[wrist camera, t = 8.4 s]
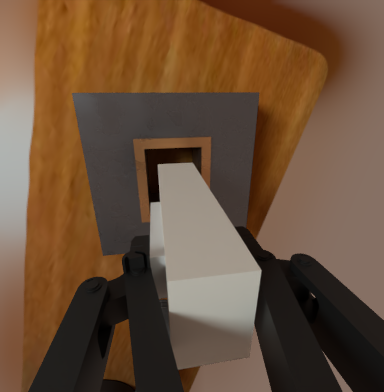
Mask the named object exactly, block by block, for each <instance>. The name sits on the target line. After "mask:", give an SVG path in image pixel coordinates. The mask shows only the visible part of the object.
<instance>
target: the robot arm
mask: <svg viewBox="0 0 384 392" xmlns="http://www.w3.org/2000/svg"><path fill="white" fill-rule="evenodd" d="M216 200H217V199H216ZM219 205H220V204H219ZM221 208H222V207H221ZM223 211H224V210H223ZM225 214H226V213H225ZM226 216H227V215H226ZM228 219H229V218H228ZM230 222H231V221H230ZM232 225H233V224H232ZM234 228H235V230H236V231H237V233H238V234H239V236H240V237H241V239H242V241H243V242H244V244H245V245H246V247H247V248H248V250H249V251H250V253H251V255H252V256H253V258H254V259H255V261H256V262H257V264H258V266H259V267H260V269H261V270H262V271H261V278H260V285H259V292H258V299H257V306H256V313H255V320H254V324H255V328H256V332H257V336H258V340H259V344H260V347H261V351H262V355H263V359H264V363H265V367H266V370H267V375H268V378H269V382H270V386H271V390H272V392H342V390H341V388H340V386H339V384H338V382H337V380H336V378H335V376H334V374H333V372H332V370H331V368H330V366H329V364H328V362H327V360H326V358H325V356H324V354H323V352H324V353H325V355H326V356H327V357H328V359H329V360H330V361H331V363H332V364H333V365H334V367H335V368H336V369H337V371H338V372H339V373H340V375H341V376H342V378H343V379H344V380H345V382H346V383H347V384H348V385H349V387H350V388H351V390H352V391H353V392H384V320H383V319H382V318H380V317H379V316H378V315H377V314H376V313H375V312H374V311H373V310H371V309H370V308H369V307H368V306H367V305H366V304H365V303H364V302H362V301H361V300H360V299H359V298H358V297H357V296H356V295H355V294H353V293H352V292H351V291H350V290H349V289H348V288H347V287H346V286H344V285H343V284H342V283H341V282H340V281H339V280H338V279H337V278H336V277H334V276H333V275H332V274H331V273H330V272H329V271H328V270H327V269H325V268H324V267H323V266H322V265H321V264H320V263H319V262H318V261H316V260H315V259H314V258H312V257H311V256H308V255H305V254H294V255H292V257H291V260H290V261H289V260H280V259H276V258H275V256H274V255H273V254H272V253H270V252H269V251H266V250H263V249H262V248H261V246H260V245H259V244H258V242H257V241H256V240H255V239H254V237H253V236H252V234H251V233H250V231H249V230H248V229H246V228H245V227H243V226H238V227H234ZM122 265H123V271H124V274H123V275H121V276H120V277H118V278H116V279H113V280H111V281H107V280H106V279H105V278H103V277H93V278H90V279H87V280H85V281H84V282H83V283H81V285H80V286H79V287H78V289H77V291H76V293H75V295H74V297H73V299H72V302H71V304H70V306H69V308H68V310H67V312H66V314H65V316H64V318H63V320H62V322H61V324H60V327H59V329H58V331H57V333H56V335H55V337H54V339H53V341H52V343H51V345H50V347H49V350H48V352H47V354H46V356H45V358H44V360H43V362H42V364H41V366H40V368H39V370H38V372H37V375H36V377H35V379H34V381H33V383H32V385H31V387H30V389H29V391H28V392H134V390H133V389H132V388H131V387H129V386H128V385H126V384H124V383H121V382H117V381H109V380H103V377H104V372H105V368H106V364H107V359H108V355H109V351H110V347H111V342H112V338H113V334H114V329H115V324H117V323H120V322H122V321H124V320H127V319H129V327H130V337H131V346H132V356H133V365H134V375H135V384H136V392H184V390H183V387H182V383H181V379H180V375H179V372H178V368H177V364H176V360H175V357H174V353H173V349H172V346H171V342H170V338H169V334H168V331H167V327H166V323H165V319H164V316H163V312H162V308H161V305H160V301H159V299H160V298H167V283H166V267H165V252H164V240H163V227H162V215H161V202H153V203H151V207H150V235H144V236H135V237H134V238H133V240H132V241H131V246H130V251H129V252H128V253H126V254H125V255H124V256H123V258H122ZM311 292H312V294H313V295H314V296H315V297H316V298H314V297H313V296H312V294H311ZM321 349H322V350H321ZM322 351H323V352H322Z"/></svg>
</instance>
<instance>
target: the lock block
mask: <svg viewBox="0 0 384 392" xmlns="http://www.w3.org/2000/svg"><path fill="white" fill-rule="evenodd" d="M72 95H73V101H74V106H75V111H76V116H77V121H78V127H79V132H80V137H81V142H82V148H83V153H84V158H85V163H86V168H87V174H88V179H89V184H90V189H91V195H92V200H93V205H94V210H95V215H96V221H97V226H98V231H99V236H100V242H101V247H102V252H103V256H104V255H114V254H124V253H128V252H129V251H130V246H131V241H132V240H133V238H134V237H135V236H144V235H150V207H151V203H153V202H160V193H156V194H150V184H149V172H148V160H147V149H160V148H187V147H192V163H193V164H194V166H195V167H196V169H197V170H198V172H199V173H200V175H201V176H202V178H203V180H204V181H205V183H206V184H207V186H208V187H209V189H210V191H211V192H212V194H213V195H214V197H215V198H216V199H217V201H218V203H219V204H220V206H221V207H222V209H223V210H224V212H225V213H226V215H227V217H228V218H229V220H230V221H231V223H232V224H233V226H234V227H238V226H243V227H245V228H246V223H247V213H248V203H249V193H250V182H251V172H252V162H253V152H254V142H255V132H256V121H257V111H258V101H259V93H72Z"/></svg>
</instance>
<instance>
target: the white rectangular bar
mask: <svg viewBox="0 0 384 392" xmlns="http://www.w3.org/2000/svg"><path fill="white" fill-rule="evenodd" d="M158 177H159V192H160V202H161V215H162V227H163V240H164V252H165V267H166V283H167V300H168V314H169V327H170V340H171V346H172V349H173V353H174V357H175V360H176V364H177V368H178V370H180V369H185V368H191V367H197V366H202V365H208V364H214V363H219V362H225V361H231V360H236V359H242V358H248V357H249V356H250V349H251V342H252V335H253V327H254V320H255V313H256V306H257V299H258V292H259V285H260V278H261V271H262V270H261V269H260V267H259V266H258V264H257V262H256V261H255V259H254V258H253V256H252V255H251V253H250V251H249V250H248V248H247V247H246V245H245V244H244V242H243V241H242V239H241V237H240V236H239V234H238V233H237V231H236V230H235V228H234V226H233V225H232V223H231V222H230V220H229V219H228V217H227V216H226V214H225V212H224V211H223V209H222V208H221V206H220V205H219V203H218V201H217V200H216V198H215V197H214V195H213V194H212V192H211V191H210V189H209V187H208V186H207V184H206V183H205V181H204V180H203V178H202V176H201V175H200V173H199V172H198V170H197V169H196V167H195V166H194V164H193V163H173V164H158Z"/></svg>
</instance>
